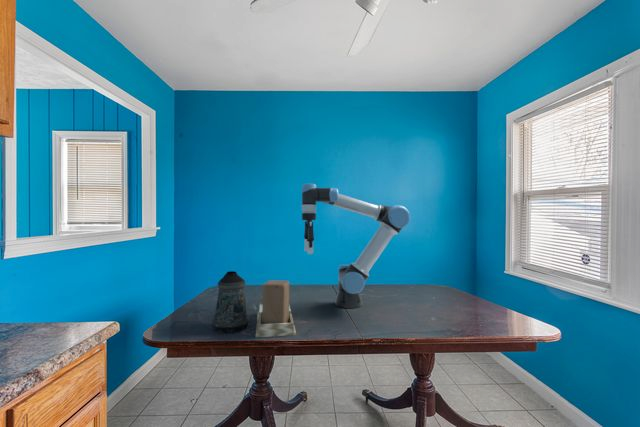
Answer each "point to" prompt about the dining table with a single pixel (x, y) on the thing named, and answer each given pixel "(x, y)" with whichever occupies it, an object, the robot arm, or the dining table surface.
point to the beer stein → (231, 305)
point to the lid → (261, 308)
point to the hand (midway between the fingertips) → (308, 252)
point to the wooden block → (275, 302)
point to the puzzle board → (274, 328)
